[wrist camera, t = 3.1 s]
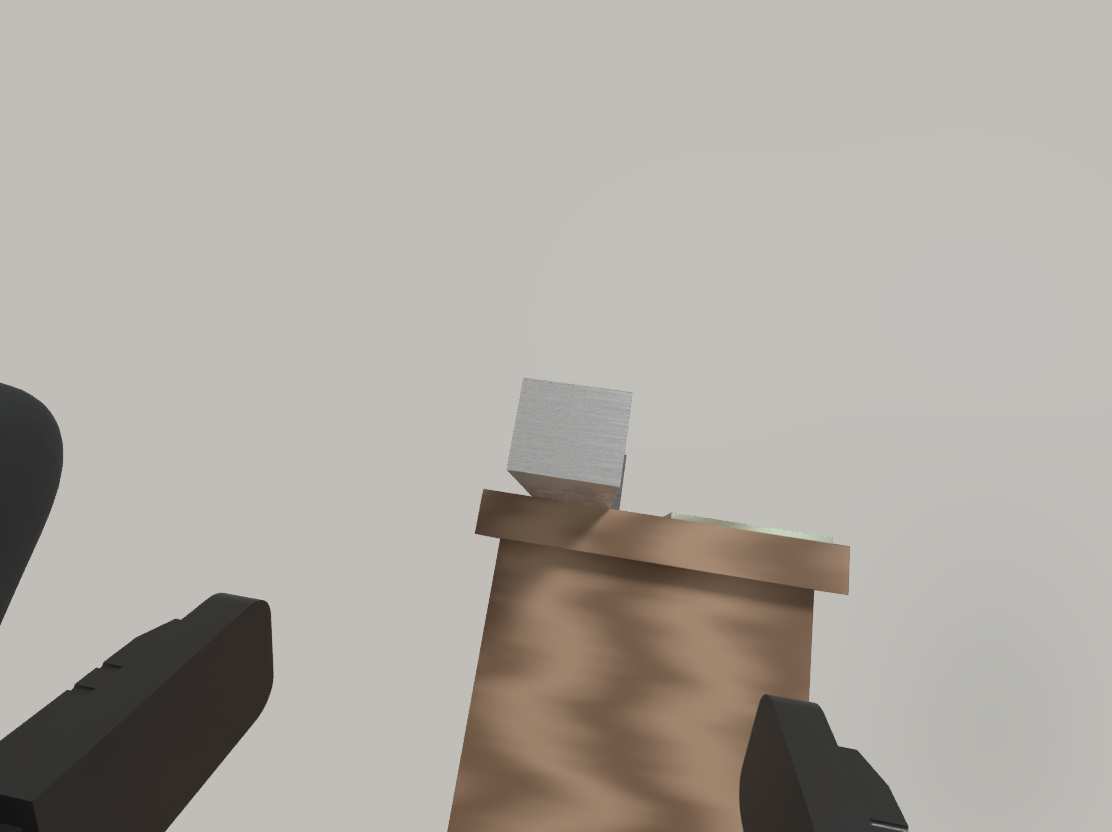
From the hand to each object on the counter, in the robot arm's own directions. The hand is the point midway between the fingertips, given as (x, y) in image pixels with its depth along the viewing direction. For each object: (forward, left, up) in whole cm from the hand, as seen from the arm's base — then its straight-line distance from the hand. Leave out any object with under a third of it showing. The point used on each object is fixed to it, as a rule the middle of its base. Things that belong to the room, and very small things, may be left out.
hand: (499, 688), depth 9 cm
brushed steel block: (0, +17, +4) cm, 18 cm away
